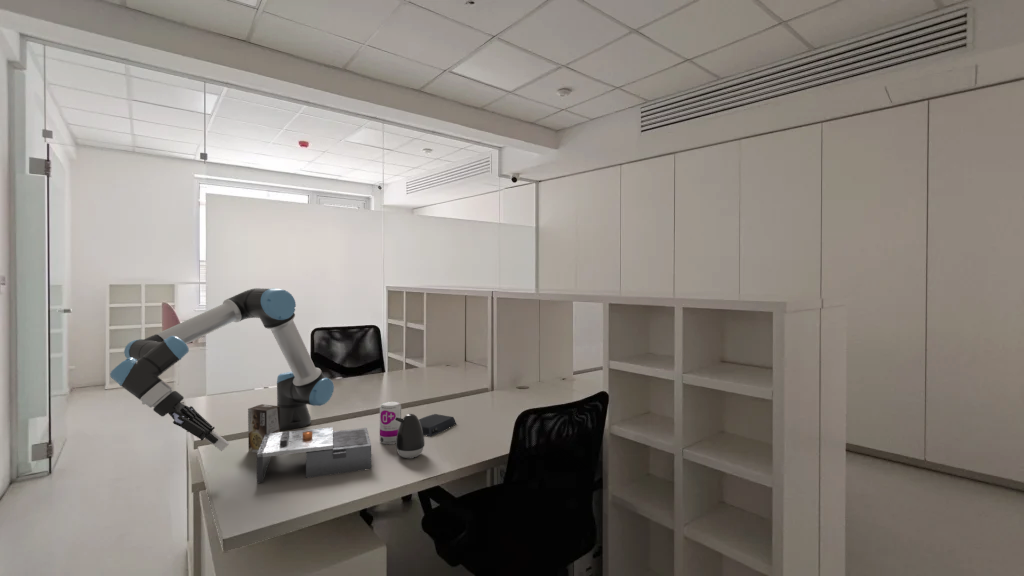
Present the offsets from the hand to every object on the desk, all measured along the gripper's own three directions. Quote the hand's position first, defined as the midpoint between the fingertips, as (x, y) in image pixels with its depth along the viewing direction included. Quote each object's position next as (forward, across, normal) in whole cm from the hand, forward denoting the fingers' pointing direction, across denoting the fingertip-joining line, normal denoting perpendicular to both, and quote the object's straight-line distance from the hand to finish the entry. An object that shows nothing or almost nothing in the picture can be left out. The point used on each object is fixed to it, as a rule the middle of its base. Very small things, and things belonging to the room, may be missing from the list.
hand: (225, 447), depth 148 cm
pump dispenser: (+48, +1, +34) cm, 59 cm away
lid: (+21, -1, +8) cm, 23 cm away
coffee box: (+13, -22, -1) cm, 26 cm away
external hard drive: (+58, -28, +44) cm, 78 cm away
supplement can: (+44, -16, +31) cm, 56 cm away
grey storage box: (+31, -1, +17) cm, 35 cm away
